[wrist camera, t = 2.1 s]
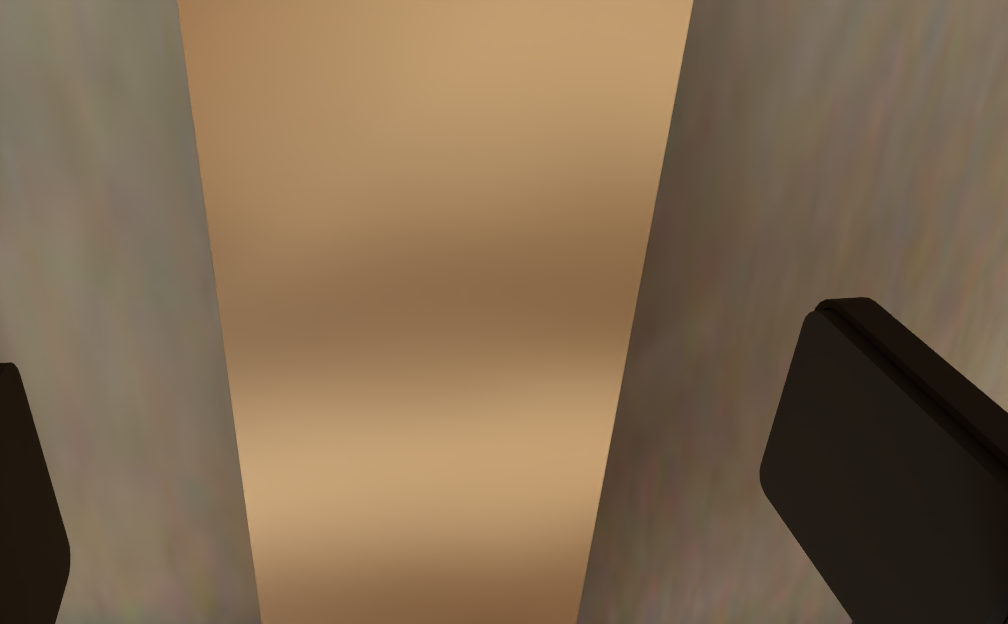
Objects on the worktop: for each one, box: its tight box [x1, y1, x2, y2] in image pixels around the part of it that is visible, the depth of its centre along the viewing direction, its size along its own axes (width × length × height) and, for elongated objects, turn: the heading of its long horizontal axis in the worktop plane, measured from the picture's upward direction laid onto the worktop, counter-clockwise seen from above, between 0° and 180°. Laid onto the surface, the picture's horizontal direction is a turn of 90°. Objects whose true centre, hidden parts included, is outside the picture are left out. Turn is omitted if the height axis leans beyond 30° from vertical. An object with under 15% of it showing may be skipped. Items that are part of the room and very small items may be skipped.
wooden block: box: [177, 0, 693, 624], centre depth 13 cm, size 22×6×3 cm, turn 175°
